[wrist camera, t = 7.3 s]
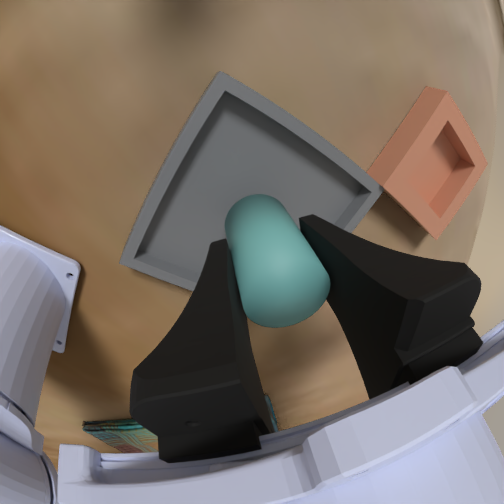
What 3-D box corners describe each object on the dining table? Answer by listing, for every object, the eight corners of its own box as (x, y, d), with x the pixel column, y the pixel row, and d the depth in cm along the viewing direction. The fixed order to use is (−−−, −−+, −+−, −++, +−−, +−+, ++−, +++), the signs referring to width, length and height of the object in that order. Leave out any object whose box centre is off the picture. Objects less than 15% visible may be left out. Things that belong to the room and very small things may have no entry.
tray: (272, 302, 19) (278, 319, 18) (124, 246, 14) (119, 263, 13) (370, 179, 15) (384, 189, 14) (217, 72, 11) (220, 70, 9)
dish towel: (284, 432, 37) (288, 446, 35) (144, 455, 36) (145, 468, 34) (266, 387, 27) (272, 408, 25) (79, 415, 26) (77, 433, 24)
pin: (264, 259, 15) (294, 334, 11) (212, 236, 13) (225, 315, 9) (299, 212, 13) (346, 277, 9) (247, 182, 12) (278, 244, 8)
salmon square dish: (420, 227, 18) (436, 240, 16) (365, 174, 15) (382, 186, 13) (470, 154, 15) (487, 163, 14) (426, 86, 12) (447, 91, 11)
